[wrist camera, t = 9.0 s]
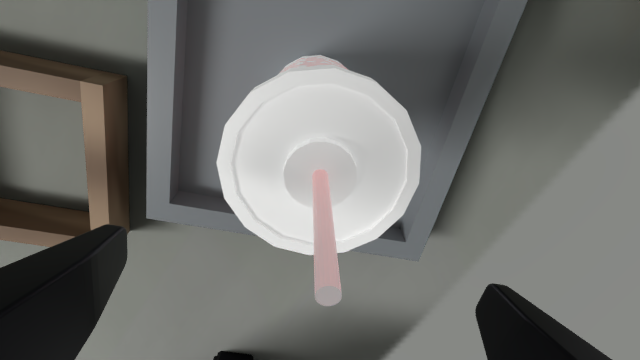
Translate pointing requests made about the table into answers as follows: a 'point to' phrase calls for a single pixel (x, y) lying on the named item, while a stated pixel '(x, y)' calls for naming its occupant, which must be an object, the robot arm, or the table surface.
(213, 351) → the table surface
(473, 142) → the table surface
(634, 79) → the table surface
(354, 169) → the beverage cup
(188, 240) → the table surface
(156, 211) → the tray
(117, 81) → the square frame
